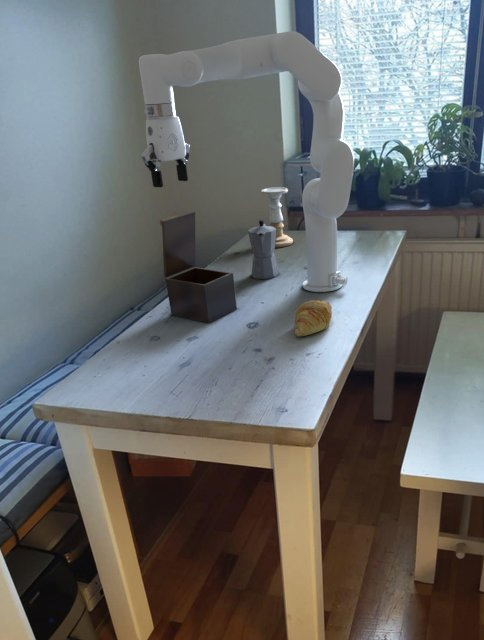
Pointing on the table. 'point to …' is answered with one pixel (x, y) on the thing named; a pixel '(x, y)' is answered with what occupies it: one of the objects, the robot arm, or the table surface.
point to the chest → (201, 294)
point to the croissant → (312, 317)
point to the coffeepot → (263, 251)
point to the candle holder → (277, 215)
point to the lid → (178, 243)
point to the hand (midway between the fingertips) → (170, 183)
